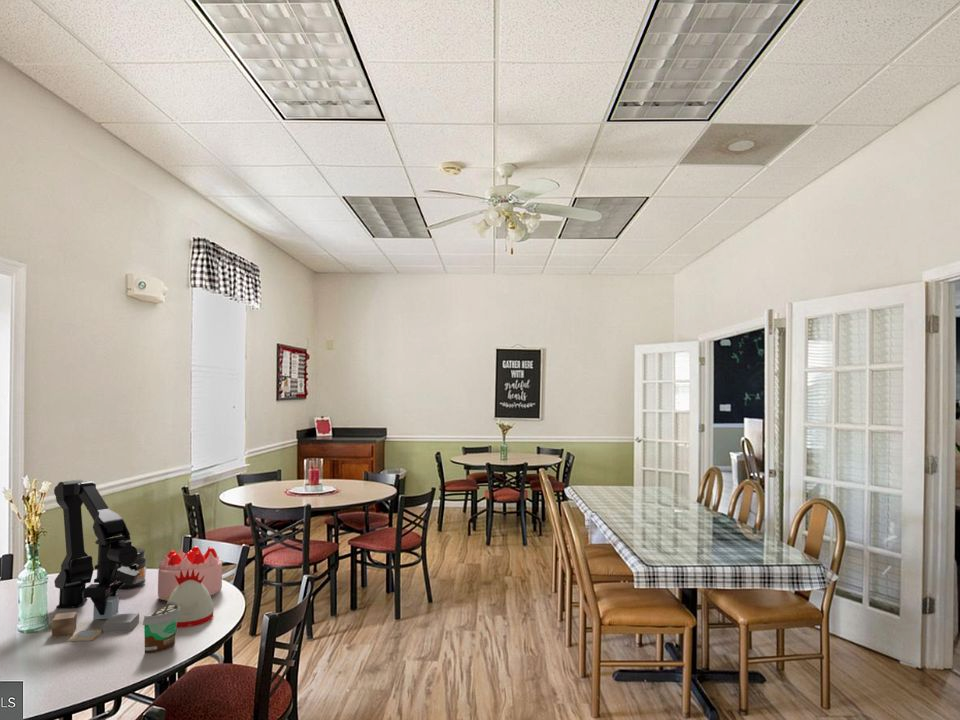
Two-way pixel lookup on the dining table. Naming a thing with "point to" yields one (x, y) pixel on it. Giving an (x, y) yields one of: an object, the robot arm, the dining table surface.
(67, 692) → the dining table surface
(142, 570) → the supplement container
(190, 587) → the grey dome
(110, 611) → the slate cube
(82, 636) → the tan flat square frame
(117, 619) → the base block
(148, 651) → the food container
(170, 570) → the cake
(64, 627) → the walnut cube
